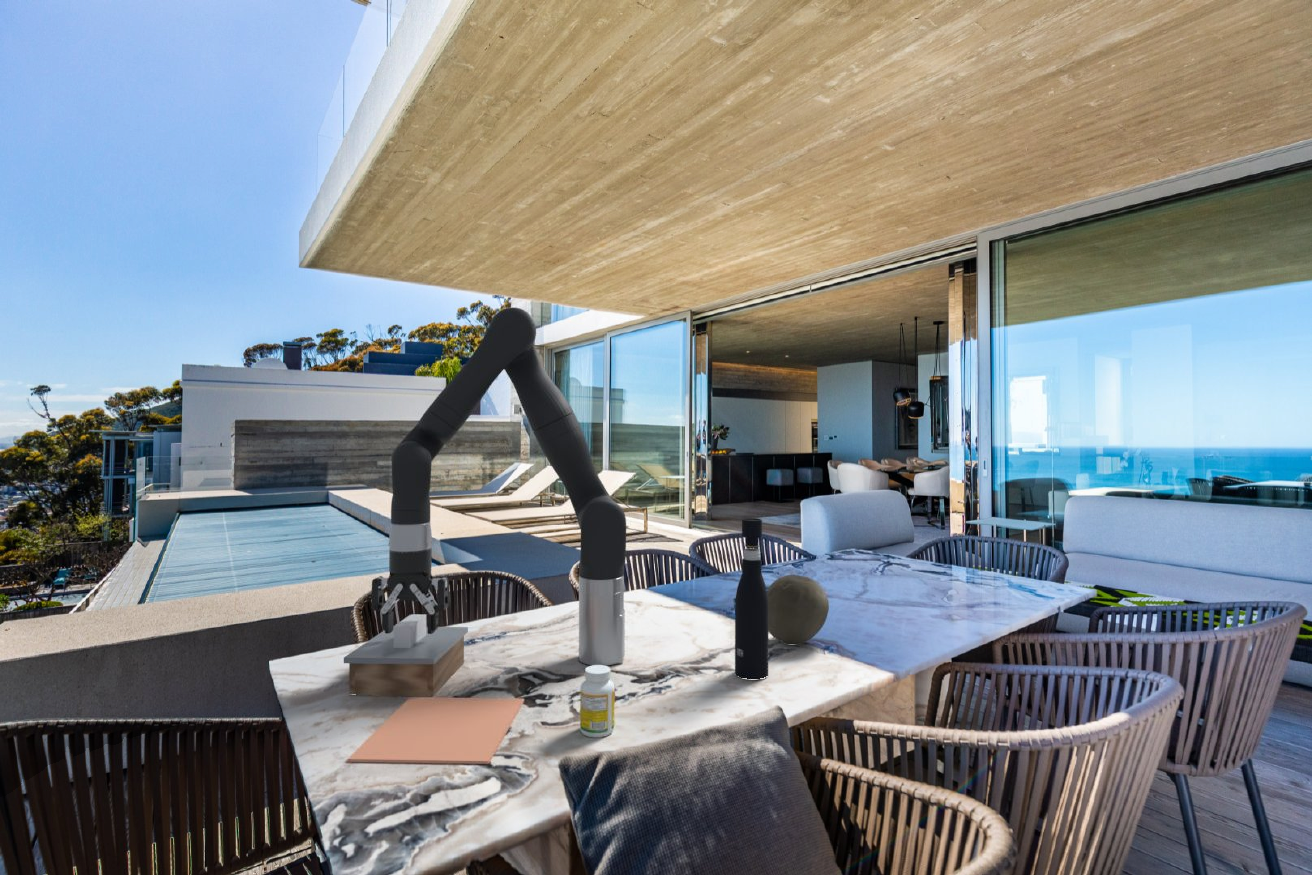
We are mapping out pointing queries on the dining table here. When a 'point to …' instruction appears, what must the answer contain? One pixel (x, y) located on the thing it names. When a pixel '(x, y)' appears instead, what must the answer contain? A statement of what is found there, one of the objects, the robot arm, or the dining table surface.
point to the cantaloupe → (796, 609)
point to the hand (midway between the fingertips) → (410, 632)
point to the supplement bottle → (597, 702)
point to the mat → (441, 731)
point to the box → (405, 676)
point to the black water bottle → (751, 609)
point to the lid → (408, 644)
